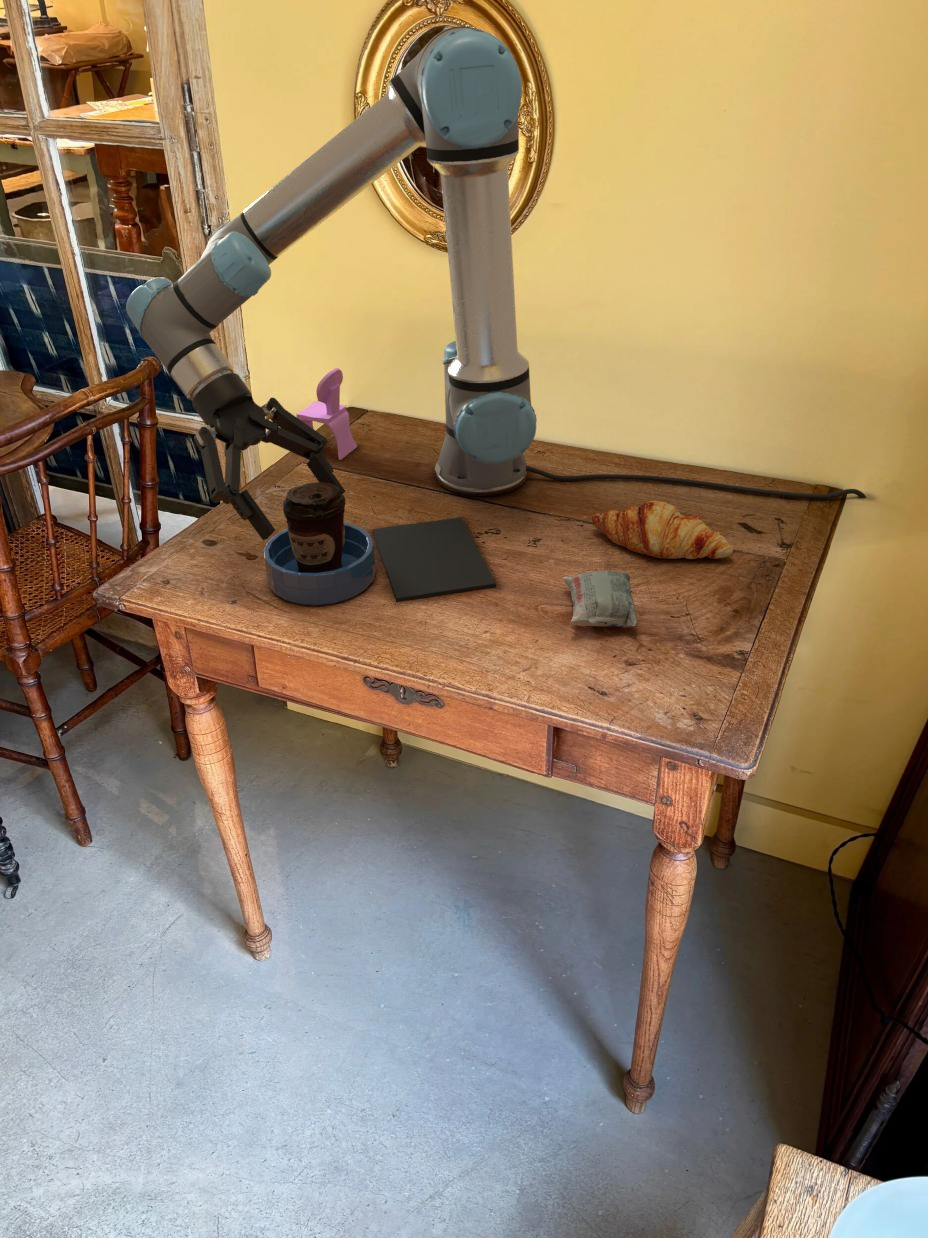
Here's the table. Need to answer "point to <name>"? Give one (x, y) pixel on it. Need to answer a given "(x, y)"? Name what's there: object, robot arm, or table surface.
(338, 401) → the toy chair
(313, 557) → the coffee cup
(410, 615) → the table surface
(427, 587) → the mat
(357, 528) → the bowl
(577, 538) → the table surface
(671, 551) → the croissant
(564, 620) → the table surface
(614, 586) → the packaged food
